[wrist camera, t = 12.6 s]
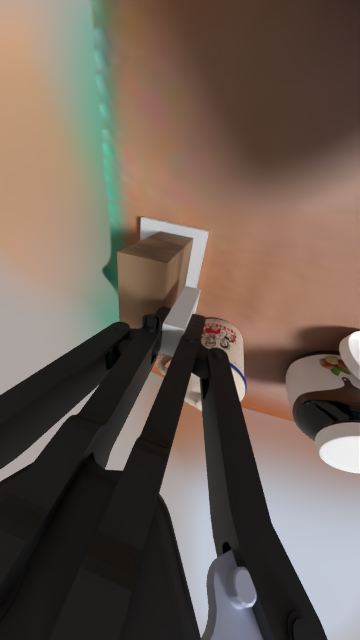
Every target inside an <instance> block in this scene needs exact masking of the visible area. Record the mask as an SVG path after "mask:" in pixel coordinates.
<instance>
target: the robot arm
mask: <svg viewBox="0 0 360 640" xmlns="http://www.w3.org/2000/svg"><path fill="white" fill-rule="evenodd" d="M200 290H201V289H197V288H193V287H188V286H185V287H184V289H183V290H182V292H181V294H180V295H179V297H178V299H177V300H176V302H175V304H174V305H173V307H172V308H168V307H164V306H163V307H161V308H159V309H158V311H157V312H156V313H155V314H146V315H144V316H143V318H142V327H141V328H139V329H135V328H130V326H129V324H127V323H125V322H116V323H113V324H111V325H110V326H109V327H107V328H105V329H104V330H102V331H100V332H99V333H97V334H96V335H94V336H93V337H91V338H90V339H88V340H86V341H85V342H83V343H82V344H80V345H79V346H77V347H75V348H74V349H72V350H71V351H69V352H68V353H66V354H64V355H63V356H61V357H60V358H58V359H57V360H55V361H53V362H52V363H50V364H49V365H47V366H46V367H44V368H43V369H41V370H39V371H38V372H36V373H35V374H33V375H31V376H30V377H28V378H27V379H25V380H24V381H22V382H20V383H19V384H17V385H16V386H14V387H13V388H11V389H9V390H8V391H6V392H5V393H3V394H2V395H0V469H1V468H3V467H5V466H6V465H7V464H9V463H10V462H11V461H13V460H14V459H16V458H17V457H18V456H19V455H20V454H22V453H23V452H24V451H25V450H27V449H28V448H29V447H30V446H31V445H32V444H33V443H34V442H36V441H37V440H38V439H39V438H40V437H41V436H42V435H44V433H46V432H47V431H48V430H49V429H50V428H51V427H52V426H53V425H54V424H56V423H57V422H58V421H59V420H60V419H61V418H62V417H64V416H65V414H67V413H68V412H69V411H70V410H71V409H72V408H74V407H75V406H76V405H77V404H78V403H79V402H80V401H81V400H82V399H83V398H85V397H86V396H87V395H88V394H89V393H90V392H91V391H92V390H94V389H95V388H96V387H97V386H98V385H99V384H100V385H99V386H98V388H97V389H96V390H95V392H94V393H93V394H92V396H91V397H90V399H89V400H88V401H87V403H86V404H85V405H84V407H83V408H82V409H81V411H80V412H79V413H78V414H77V415H72V416H70V417H69V418H68V419H67V420H66V421H65V422H64V423H63V425H62V426H61V427H60V428H59V430H58V431H57V432H56V434H55V435H54V437H53V438H52V439H51V440H50V442H49V443H48V444H47V445H46V447H45V448H44V450H43V451H42V452H41V453H40V455H39V456H38V457H37V459H36V460H35V461H34V462H33V463H31V464H30V465H28V466H26V467H25V468H23V469H21V470H19V471H18V472H16V473H14V474H13V475H11V476H9V477H7V478H6V479H4V480H2V481H1V482H0V640H327V637H326V635H325V632H324V629H323V627H322V624H321V622H320V620H319V618H318V616H317V614H316V612H315V610H314V608H313V606H312V604H311V602H310V600H309V598H308V596H307V594H306V592H305V590H304V588H303V586H302V584H301V582H300V580H299V578H298V576H297V574H296V572H295V570H294V568H293V566H292V564H291V562H290V560H289V558H288V556H287V554H286V552H285V549H284V548H283V545H282V543H281V541H280V539H279V538H278V535H277V533H276V531H275V529H274V528H273V525H272V523H271V519H270V516H269V512H268V508H267V504H266V500H265V497H264V492H263V489H262V485H261V481H260V477H259V473H258V469H257V466H256V462H255V458H254V454H253V451H252V446H251V443H250V439H249V435H248V431H247V427H246V423H245V420H244V416H243V412H242V408H241V404H240V400H239V396H238V392H237V389H236V385H235V381H234V377H233V373H232V369H231V365H230V362H229V358H228V355H227V353H226V352H225V351H224V350H222V349H221V348H217V347H213V348H210V349H208V348H206V347H205V346H204V345H203V344H202V343H201V336H202V332H203V328H204V325H205V321H206V320H205V318H204V316H200V315H196V314H195V313H196V308H197V304H198V299H199V295H200ZM159 349H160V353H162V354H165V355H168V356H172V357H173V358H172V360H171V363H170V365H169V367H168V370H167V372H166V375H165V377H164V380H163V382H162V385H161V387H160V389H159V392H158V394H157V397H156V399H155V402H154V404H153V406H152V409H151V411H150V413H149V416H148V418H147V421H146V423H145V426H144V428H143V430H142V433H141V435H140V437H139V438H138V439H137V440H136V442H135V444H134V446H133V448H132V451H131V453H130V455H129V458H128V460H127V463H126V465H125V467H124V470H123V471H118V470H117V471H116V470H105V467H106V465H107V462H108V458H109V455H110V452H111V449H112V447H113V445H114V443H115V441H116V439H117V437H118V435H119V433H120V431H121V429H122V427H123V425H124V423H125V421H126V419H127V417H128V415H129V413H130V411H131V409H132V407H133V405H134V403H135V401H136V399H137V397H138V395H139V393H140V391H141V389H142V387H143V385H144V383H145V381H146V379H147V377H148V375H149V373H150V371H151V369H152V367H153V365H154V363H155V361H156V359H157V356H158V351H159ZM191 373H193V374H194V375H196V376H198V377H199V378H200V391H201V404H202V416H203V428H204V440H205V452H206V464H207V477H208V489H209V501H210V514H211V523H212V530H213V538H214V543H215V547H216V553H217V558H216V559H215V560H214V561H213V562H212V564H211V566H210V567H209V571H208V575H207V595H208V604H209V610H208V621H207V625H206V629H205V632H204V634H203V636H202V638H201V637H200V633H199V629H198V625H197V621H196V617H195V613H194V609H193V605H192V601H191V597H190V593H189V589H188V585H187V581H186V577H185V573H184V569H183V565H182V561H181V557H180V553H179V549H178V545H177V541H176V537H175V533H174V529H173V525H172V521H171V517H170V514H169V511H168V508H167V506H166V504H165V502H164V500H163V498H162V497H161V495H160V494H159V492H160V488H161V484H162V480H163V477H164V473H165V469H166V465H167V462H168V458H169V455H170V451H171V447H172V443H173V440H174V436H175V432H176V429H177V425H178V421H179V417H180V414H181V410H182V406H183V402H184V399H185V395H186V392H187V388H188V384H189V381H190V377H191Z"/></svg>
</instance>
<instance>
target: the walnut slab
mask: <svg viewBox="0 0 360 640" xmlns="http://www.w3.org/2000/svg"><path fill="white" fill-rule="evenodd" d="M193 239H194V238H191V237H186V236H181V235H176V234H172V233H167V232H162V231H160V232H158V233H156V234H154V235H151V236H149V237H147V238H145V239H143V240H141V241H139V242H136V243H134V244H132V245H130V246H128V247H126V248H124V249H122V250H119V251H117V268H118V294H119V318H120V322H125V323H127V324H129V326H130V328H135V329H139V328H141V327H142V318H143V316H144V315H146V314H155V313H156V312H157V311H158V309H159V308H161V307H163V306H164V307H168V308H172V307H173V305H174V304H175V302H176V300H177V299H178V297H179V295H180V294H181V292H182V290H183V289H184V287H185V285H186V279H187V274H188V268H189V262H190V257H191V251H192V245H193Z"/></svg>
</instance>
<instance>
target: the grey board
mask: <svg viewBox="0 0 360 640" xmlns="http://www.w3.org/2000/svg"><path fill="white" fill-rule="evenodd" d="M160 231H162V232H167V233H172V234H176V235H181V236H186V237H191V238H194V239H193V245H192V251H191V257H190V262H189V268H188V274H187V279H186V285H185V286H188V287H193V288H197V284H198V280H199V275H200V271H201V266H202V262H203V257H204V253H205V248H206V244H207V239H208V235H209V230H205V229H201V228H196V227H191V226H187V225H182V224H177V223H173V222H168V221H163V220H159V219H154V218H149V217H145V216H144V217H141V230H140V241H141V240H143V239H145V238H147V237H149V236H151V235H154V234H156V233H158V232H160Z"/></svg>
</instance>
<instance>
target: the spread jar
mask: <svg viewBox="0 0 360 640" xmlns="http://www.w3.org/2000/svg"><path fill="white" fill-rule="evenodd" d="M339 351H340V353H335V352H328V351H320V352H313V353H309V354H306V355H303V356H301V357H299V358H297V359H296V360H294V361H293V362H292V363H291V365H290V366H289V368H288V370H287V373H286V381H285V384H286V392H287V397H288V402H289V406H290V410H291V413H292V416H293V419H294V421H295V423H296V424H297V426H298V427H299V429H300V430H301V431H302V432H303V433H304V434H305V435H307V436H308V437H309V438H310V439H312V440H313V441H315V443H316V446H317V449H318V453H319V455H320V457H321V459H322V460H323V461H325V462H326V463H327V464H329V465H330V466H332V467H335V468H337V469H340V470H343V471H348V472H353V473H360V331H356V332H353V333H352V334H350V335H348V336H347V337H345V338H344V339H342V341H341V342H340V345H339Z"/></svg>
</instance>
